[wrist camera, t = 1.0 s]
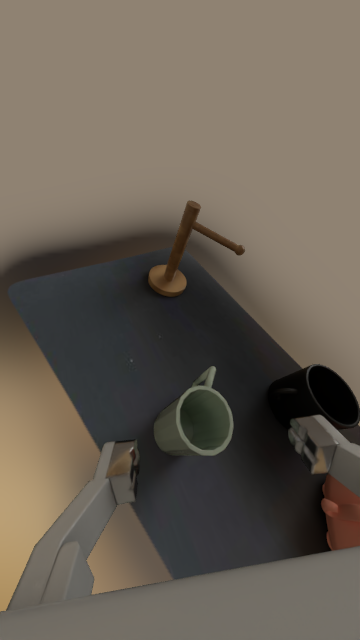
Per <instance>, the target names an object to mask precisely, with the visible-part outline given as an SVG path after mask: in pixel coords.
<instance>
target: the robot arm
mask: <svg viewBox="0 0 360 640" xmlns="http://www.w3.org/2000/svg"><path fill="white" fill-rule="evenodd" d="M290 425H291V426H292V427H291V428H290V429H289V432H288V437H289V441H290V443H291V445H292V447H293V448H294V450H295V451H296V452H298V453H299V454H301V460H302V461H303V463H304V464H305V466H306V467H307V469H308V470H309V471H310V473H311V474H319V473H328V472H329V474H330V475H331V476H333V477H334V478H335V479H336V480H338V481H339V482H340V483H342V484H343V485H344V486H345V487H347V488H348V489H349V490H351V491H352V492H353V493H354V494H356V495H357V496H358V497H359V498H360V446H358V445H356V444H354V443H350V442H349V441H348V440H347V439H346V438H345V437H344V436H343V435H342V434H341V433H340V432H339V431H337V430H336V429H335V428H334V427H333V426H332V425H331V424H330V423H329V422H328V421H327V420H326V419H325V418H324V417H323V416H321V415H314V416H305V417H298V418H292V419H291V421H290ZM139 468H140V455H139V450H138V449H137V440H136V439H134V440H124V441H115V442H106V443H105V444H104V446H103V448H102V452H101V455H100V458H99V461H98V465H97V468H96V471H95V474H94V477H93V480H92V481H89V482H88V483H87V484H86V485H85V487H84V488H83V489H82V490H81V491H80V493H79V494H78V495H77V496H76V497H75V499H74V500H73V501H72V502H71V503H70V504H69V506H68V507H67V508H66V509H65V510H64V512H63V513H62V514H61V515H60V516H59V518H58V519H57V520H56V521H55V522H54V524H53V525H52V526H51V527H50V528H49V530H48V531H47V532H46V533H45V534H44V536H43V537H42V538H41V539H40V540H39V542H38V543H37V544H36V545H35V546H34V549H33V551H32V553H31V555H30V558H29V560H28V562H27V564H26V567H25V569H24V571H23V574H22V576H21V578H20V580H19V583H18V585H17V587H16V589H15V592H14V594H13V596H12V599H11V601H10V603H9V605H8V608H7V610H6V611H1V612H0V640H360V546H356V547H350V548H345V549H339V550H334V551H328V552H323V553H318V554H312V555H307V556H301V557H296V558H290V559H285V560H279V561H274V562H268V563H263V564H257V565H252V566H247V567H241V568H236V569H230V570H225V571H219V572H214V573H208V574H203V575H197V576H192V577H187V578H181V579H176V580H170V581H165V582H160V583H154V584H148V585H143V586H138V587H132V588H127V589H121V590H116V591H111V592H105V593H99V594H95V595H91V593H92V588H93V583H94V577H93V575H92V572H91V570H90V568H89V565H88V564H87V561H86V560H87V558H88V556H89V555H90V553H91V551H92V549H93V547H94V546H95V544H96V542H97V540H98V539H99V537H100V535H101V533H102V531H103V530H104V528H105V526H106V525H107V523H108V521H109V519H110V517H111V516H112V514H113V512H114V510H115V509H116V507H117V505H119V504H124V503H129V502H135V501H136V496H137V487H138V482H137V475H138V474H139Z"/></svg>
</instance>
